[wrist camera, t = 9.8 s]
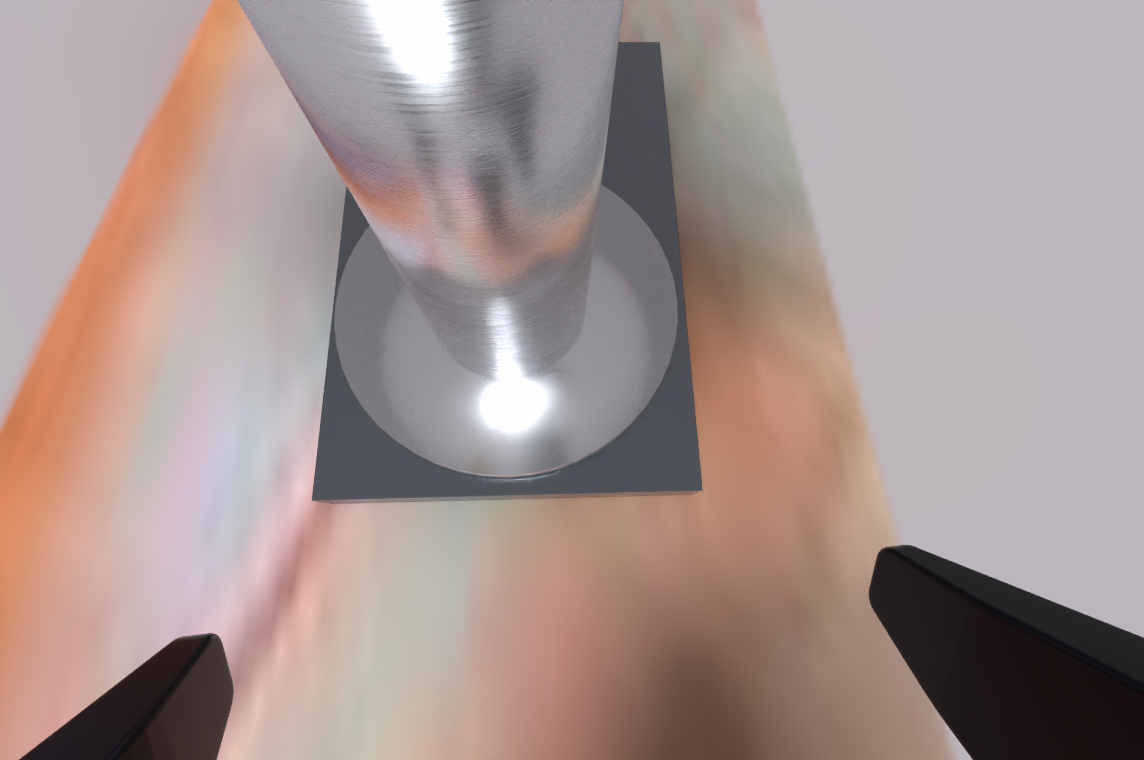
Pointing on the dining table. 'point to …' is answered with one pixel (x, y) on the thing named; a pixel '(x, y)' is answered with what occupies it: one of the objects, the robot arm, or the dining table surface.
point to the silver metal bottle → (465, 152)
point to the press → (538, 402)
